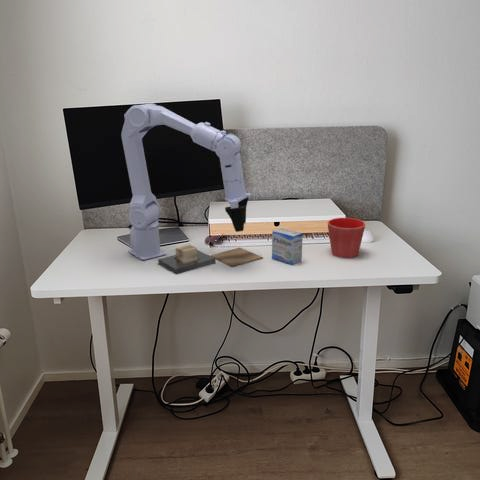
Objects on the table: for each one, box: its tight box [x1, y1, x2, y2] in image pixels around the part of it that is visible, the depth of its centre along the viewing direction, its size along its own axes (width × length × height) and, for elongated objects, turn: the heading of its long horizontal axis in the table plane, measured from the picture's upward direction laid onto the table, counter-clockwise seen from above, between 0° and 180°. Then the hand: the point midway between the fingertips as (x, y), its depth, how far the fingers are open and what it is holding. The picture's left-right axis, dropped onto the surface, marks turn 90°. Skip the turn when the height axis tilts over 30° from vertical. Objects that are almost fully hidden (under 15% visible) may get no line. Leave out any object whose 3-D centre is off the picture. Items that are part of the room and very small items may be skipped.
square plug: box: [174, 243, 198, 264], centre depth 145 cm, size 4×4×5 cm
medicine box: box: [271, 228, 304, 266], centre depth 146 cm, size 8×4×9 cm, turn 47°
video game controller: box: [204, 235, 224, 245], centre depth 165 cm, size 10×5×7 cm, turn 169°
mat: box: [210, 247, 264, 268], centre depth 150 cm, size 11×11×1 cm
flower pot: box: [327, 217, 366, 259], centre depth 150 cm, size 11×11×10 cm
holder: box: [157, 249, 217, 275], centre depth 146 cm, size 10×13×2 cm
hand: (240, 227), depth 143 cm, fingers open, 7 cm apart
